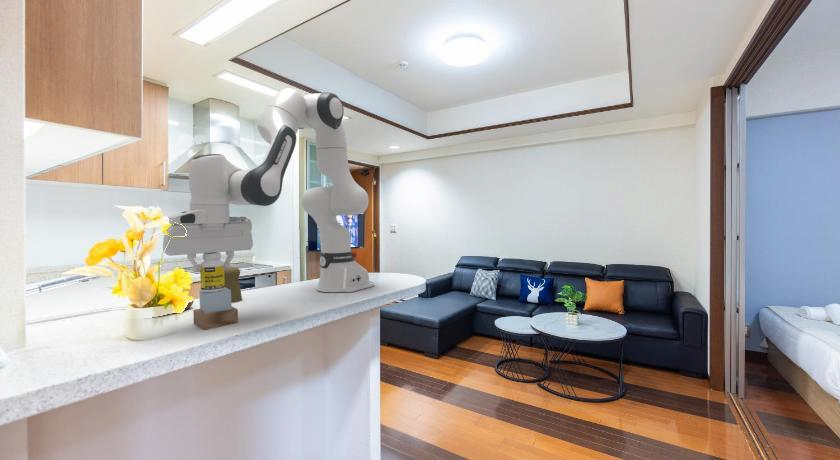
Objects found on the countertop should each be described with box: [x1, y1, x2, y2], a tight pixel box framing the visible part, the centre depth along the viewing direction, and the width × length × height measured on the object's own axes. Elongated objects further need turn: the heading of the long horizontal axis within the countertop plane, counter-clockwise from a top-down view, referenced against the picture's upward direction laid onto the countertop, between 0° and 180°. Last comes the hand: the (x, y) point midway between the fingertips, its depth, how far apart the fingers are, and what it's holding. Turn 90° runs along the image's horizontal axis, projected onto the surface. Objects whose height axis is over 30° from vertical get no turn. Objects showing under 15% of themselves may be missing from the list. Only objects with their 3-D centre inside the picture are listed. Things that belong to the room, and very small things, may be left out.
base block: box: [192, 305, 239, 331], centre depth 94 cm, size 8×8×4 cm
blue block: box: [199, 287, 233, 314], centre depth 94 cm, size 6×6×5 cm
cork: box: [224, 266, 243, 304], centre depth 119 cm, size 6×6×11 cm
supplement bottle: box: [199, 252, 225, 293], centre depth 93 cm, size 5×5×10 cm
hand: (211, 270), depth 93 cm, fingers closed on supplement bottle, 5 cm apart
